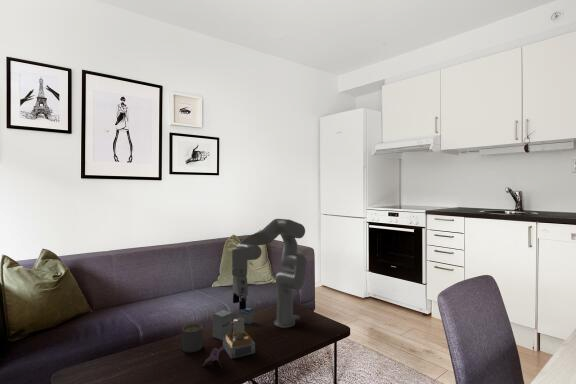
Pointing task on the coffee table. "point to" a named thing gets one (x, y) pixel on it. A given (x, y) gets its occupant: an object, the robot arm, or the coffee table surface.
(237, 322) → the spout can
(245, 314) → the medicine box
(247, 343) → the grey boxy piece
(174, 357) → the coffee table surface
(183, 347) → the coffee mug
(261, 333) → the coffee table surface
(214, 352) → the lily
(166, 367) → the coffee table surface
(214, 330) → the supplement box
